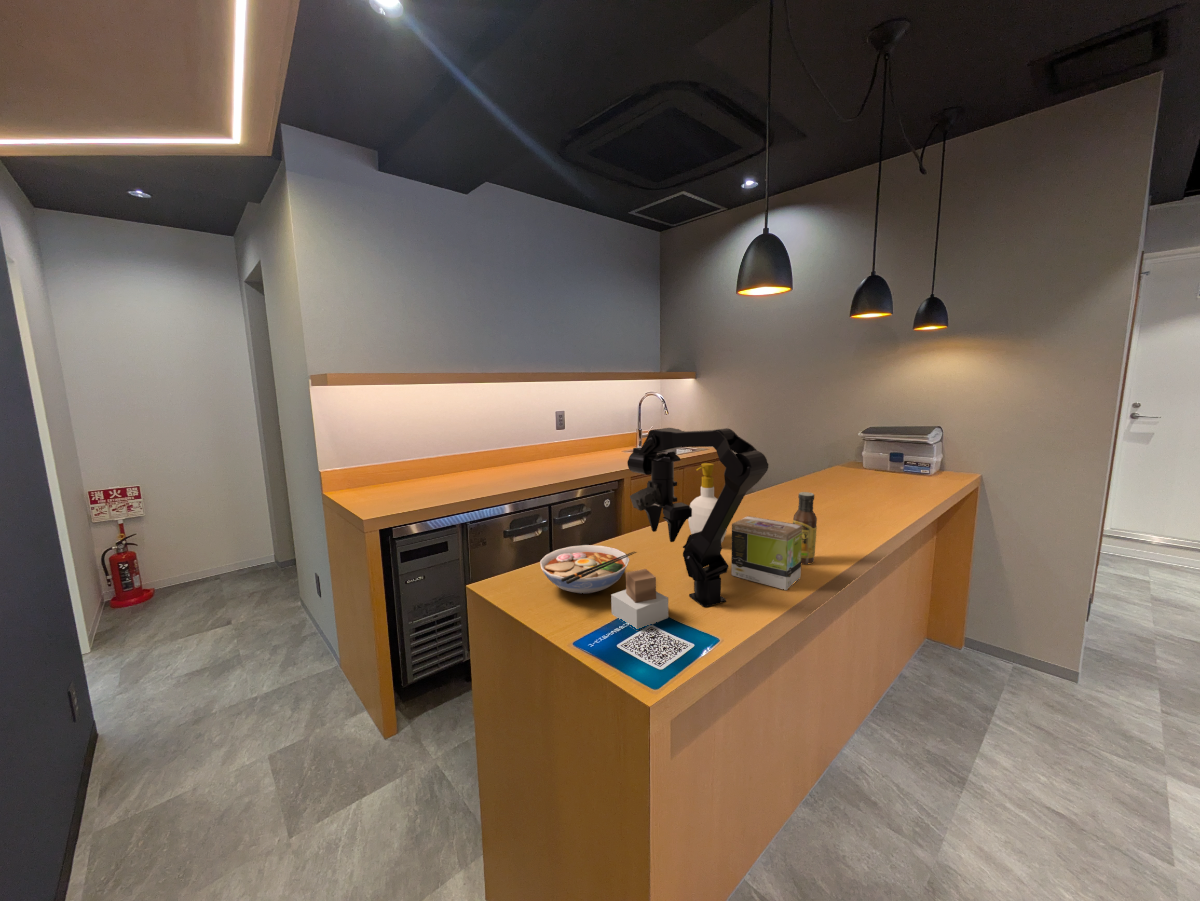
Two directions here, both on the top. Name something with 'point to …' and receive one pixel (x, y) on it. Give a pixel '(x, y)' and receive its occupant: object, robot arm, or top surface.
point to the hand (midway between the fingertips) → (662, 536)
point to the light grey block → (639, 609)
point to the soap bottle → (703, 501)
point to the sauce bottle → (806, 526)
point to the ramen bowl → (585, 567)
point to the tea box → (766, 551)
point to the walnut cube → (640, 585)
